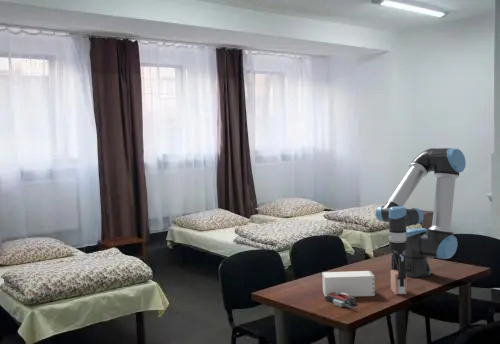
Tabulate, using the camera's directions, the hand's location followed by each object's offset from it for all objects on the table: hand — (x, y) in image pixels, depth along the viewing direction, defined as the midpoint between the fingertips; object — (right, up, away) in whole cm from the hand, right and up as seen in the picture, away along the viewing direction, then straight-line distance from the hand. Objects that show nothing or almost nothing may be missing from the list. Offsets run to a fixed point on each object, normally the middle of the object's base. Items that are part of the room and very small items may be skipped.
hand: (398, 290), depth 235 cm
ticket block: (-23, -2, 0) cm, 23 cm away
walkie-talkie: (-27, -3, -14) cm, 31 cm away
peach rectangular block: (0, -1, 0) cm, 1 cm away
